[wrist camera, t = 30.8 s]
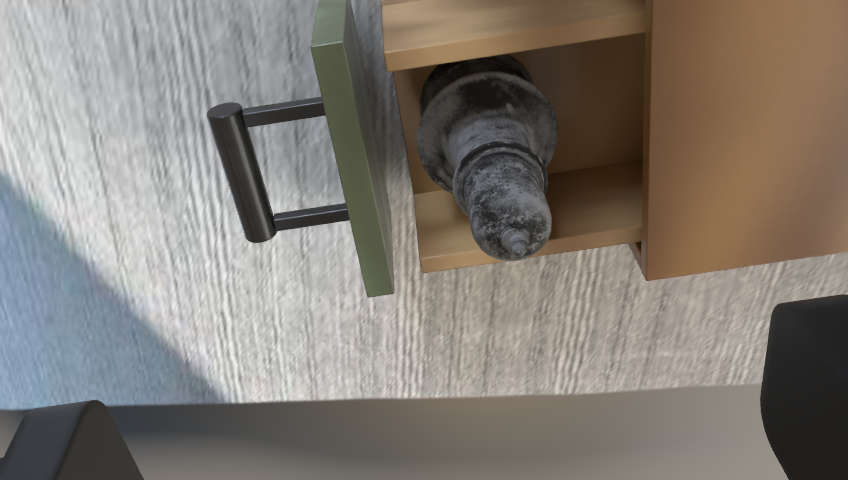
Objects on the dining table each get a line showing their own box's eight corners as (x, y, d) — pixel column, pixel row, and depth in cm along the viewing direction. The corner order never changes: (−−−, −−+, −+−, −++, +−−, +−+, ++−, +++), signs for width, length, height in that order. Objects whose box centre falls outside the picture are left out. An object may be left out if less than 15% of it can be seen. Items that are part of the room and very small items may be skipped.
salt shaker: (466, 184, 38) (501, 351, 28) (385, 98, 35) (392, 248, 25) (567, 110, 36) (643, 260, 26) (490, 13, 34) (542, 139, 24)
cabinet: (597, 182, 41) (645, 281, 34) (592, -73, 34) (652, -16, 27) (903, 136, 40) (1018, 227, 33) (961, -132, 33) (1124, -90, 26)
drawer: (272, 229, 40) (256, 314, 34) (207, 8, 34) (174, 67, 28) (654, 172, 40) (701, 249, 34) (660, -64, 33) (719, -18, 28)
